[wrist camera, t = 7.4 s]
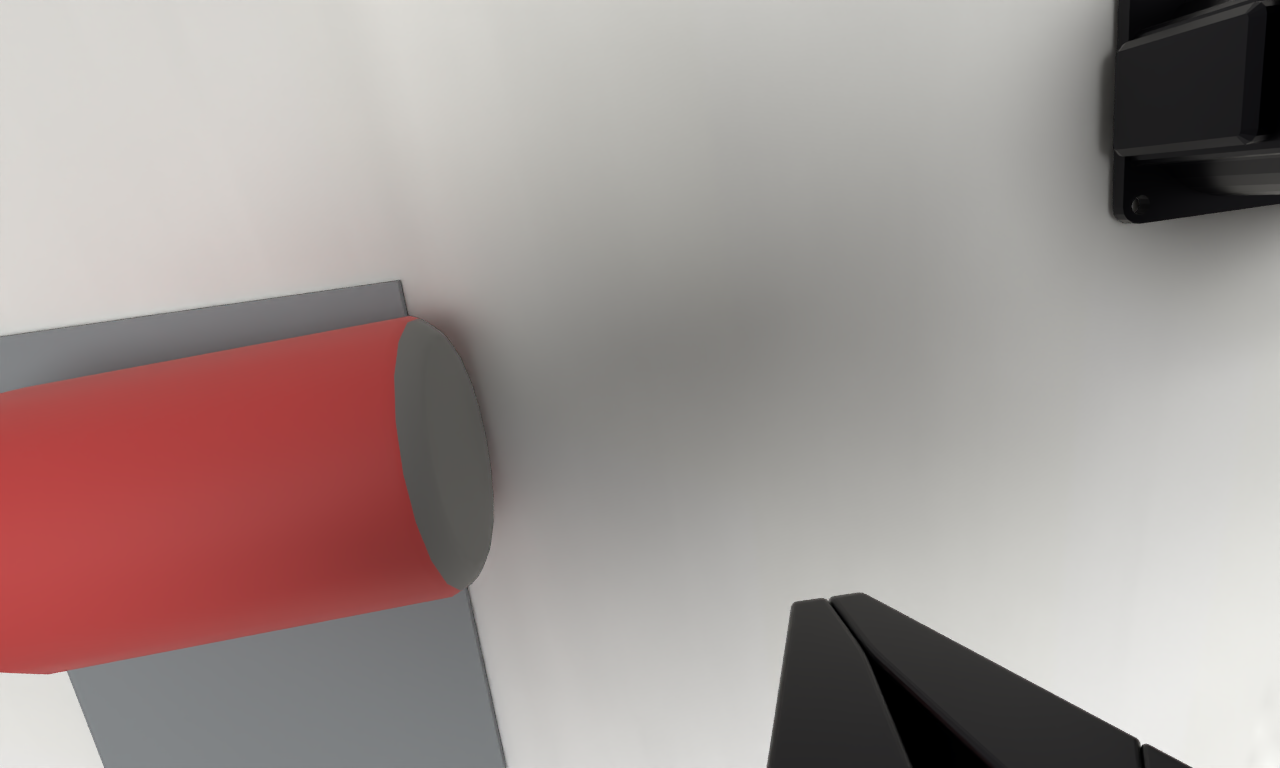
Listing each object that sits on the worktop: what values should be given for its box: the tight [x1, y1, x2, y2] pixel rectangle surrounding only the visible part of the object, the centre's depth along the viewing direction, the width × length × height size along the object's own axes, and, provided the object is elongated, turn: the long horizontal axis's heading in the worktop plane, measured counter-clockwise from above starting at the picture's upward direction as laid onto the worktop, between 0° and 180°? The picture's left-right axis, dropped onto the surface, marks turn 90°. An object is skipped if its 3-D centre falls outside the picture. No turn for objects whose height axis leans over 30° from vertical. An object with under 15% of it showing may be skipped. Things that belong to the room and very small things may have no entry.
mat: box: [0, 280, 506, 768], centre depth 21 cm, size 12×16×1 cm
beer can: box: [0, 316, 493, 674], centre depth 17 cm, size 7×7×12 cm
